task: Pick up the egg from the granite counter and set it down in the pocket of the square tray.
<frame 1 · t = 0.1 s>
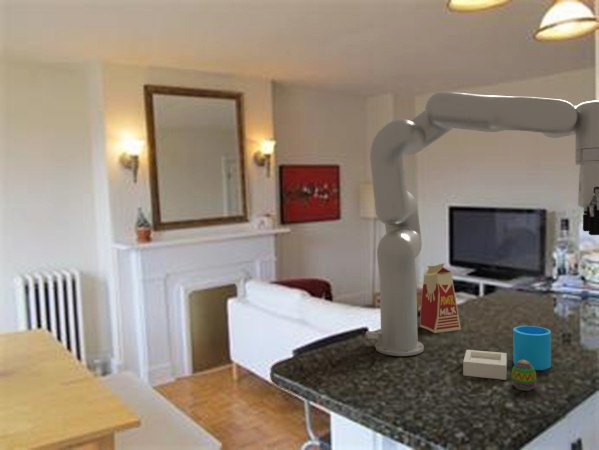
hand: (593, 232, 118), 31 cm above the kitchen island, fingers open, 9 cm apart
square tray: (485, 370, 120), on the kitchen island
milk carton: (438, 328, 157), on the kitchen island
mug: (532, 362, 125), on the kitchen island
egg: (523, 388, 109), on the kitchen island
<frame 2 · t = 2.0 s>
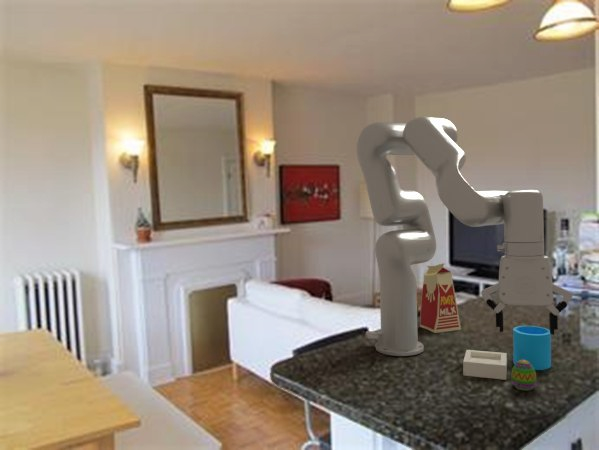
hand: (526, 331, 108), 12 cm above the kitchen island, fingers open, 9 cm apart
nothing on the kitchen island moved.
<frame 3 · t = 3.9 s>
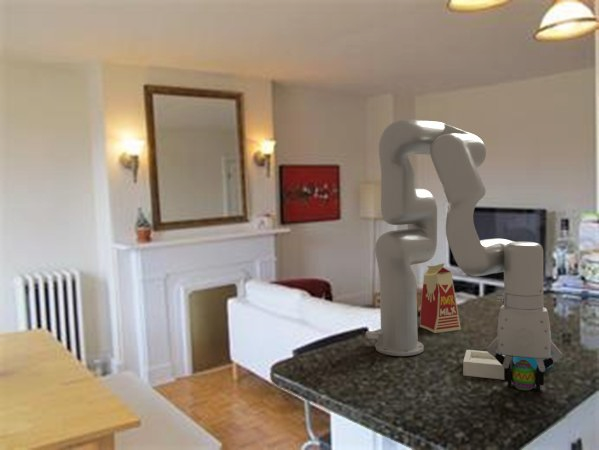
hand: (523, 385, 109), 0 cm above the kitchen island, fingers closed on egg, 4 cm apart
egg: (523, 388, 109), on the kitchen island, touching gripper
everything else where it was.
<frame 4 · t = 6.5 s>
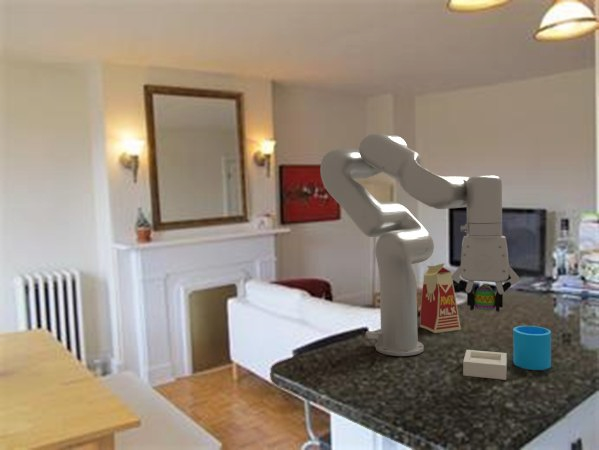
hand: (484, 308, 119), 15 cm above the kitchen island, fingers closed on egg, 4 cm apart
egg: (485, 311, 119), point 14 cm above the kitchen island, touching gripper
everything else where it was.
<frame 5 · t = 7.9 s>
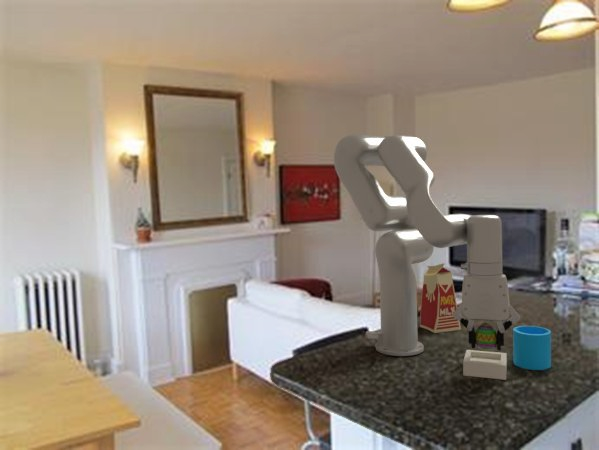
hand: (486, 346, 119), 6 cm above the kitchen island, fingers closed on egg, 4 cm apart
egg: (486, 349, 119), point 5 cm above the kitchen island, touching gripper
everything else where it was.
when the fingers open (4 cm above the kitchen island, at t = 9.1 s): egg drops 1 cm, resting on square tray.
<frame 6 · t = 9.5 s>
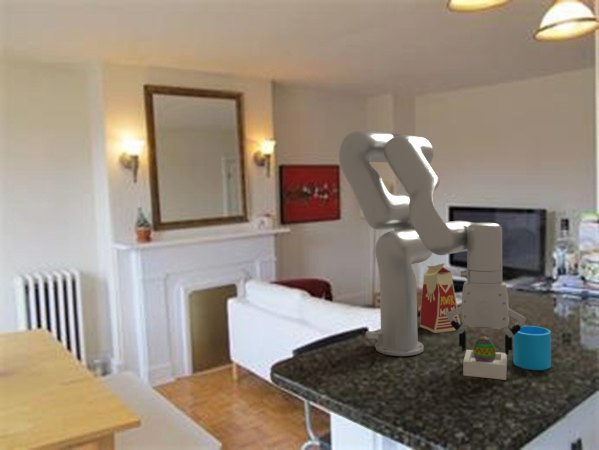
hand: (485, 350, 119), 5 cm above the kitchen island, fingers open, 9 cm apart
egg: (484, 362, 120), point 2 cm above the kitchen island, touching square tray
everything else where it was.
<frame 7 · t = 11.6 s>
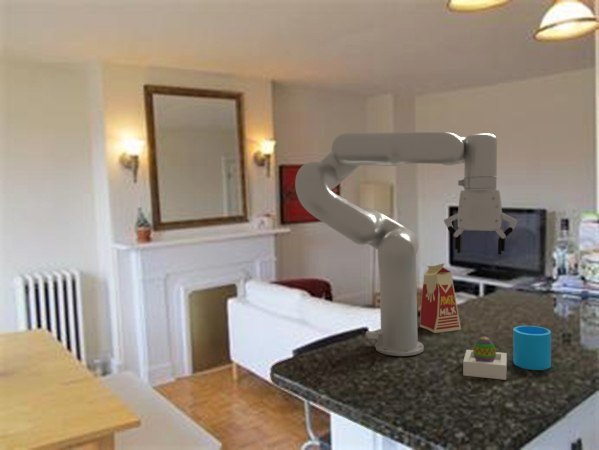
hand: (479, 253, 129), 26 cm above the kitchen island, fingers open, 9 cm apart
nothing on the kitchen island moved.
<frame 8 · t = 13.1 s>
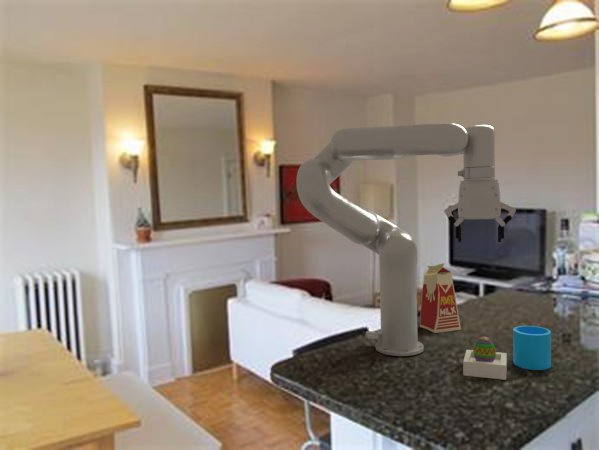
hand: (479, 241, 133), 28 cm above the kitchen island, fingers open, 9 cm apart
nothing on the kitchen island moved.
at the end: egg 0.2 cm off-centre on the square tray, point 1.8 cm above the square tray's base; the gripper is holding nothing; egg touching square tray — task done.
